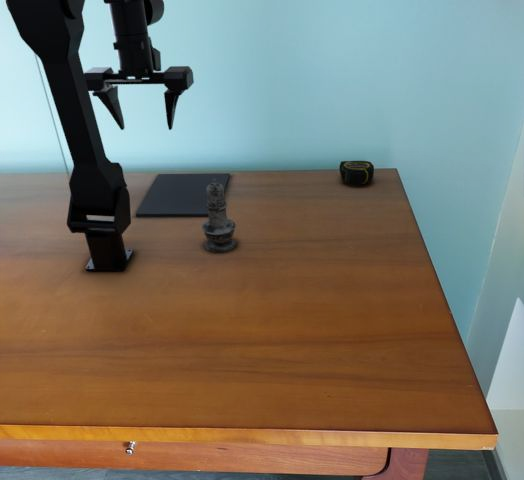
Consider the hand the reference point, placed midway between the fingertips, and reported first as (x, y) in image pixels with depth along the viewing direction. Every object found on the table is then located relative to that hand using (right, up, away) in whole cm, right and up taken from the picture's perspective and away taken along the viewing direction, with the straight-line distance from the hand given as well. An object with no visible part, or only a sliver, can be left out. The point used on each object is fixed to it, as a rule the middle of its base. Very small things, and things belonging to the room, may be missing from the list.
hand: (146, 129), depth 98 cm
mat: (+6, -9, +11) cm, 15 cm away
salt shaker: (+14, -23, -6) cm, 28 cm away
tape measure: (+41, -5, +13) cm, 44 cm away
